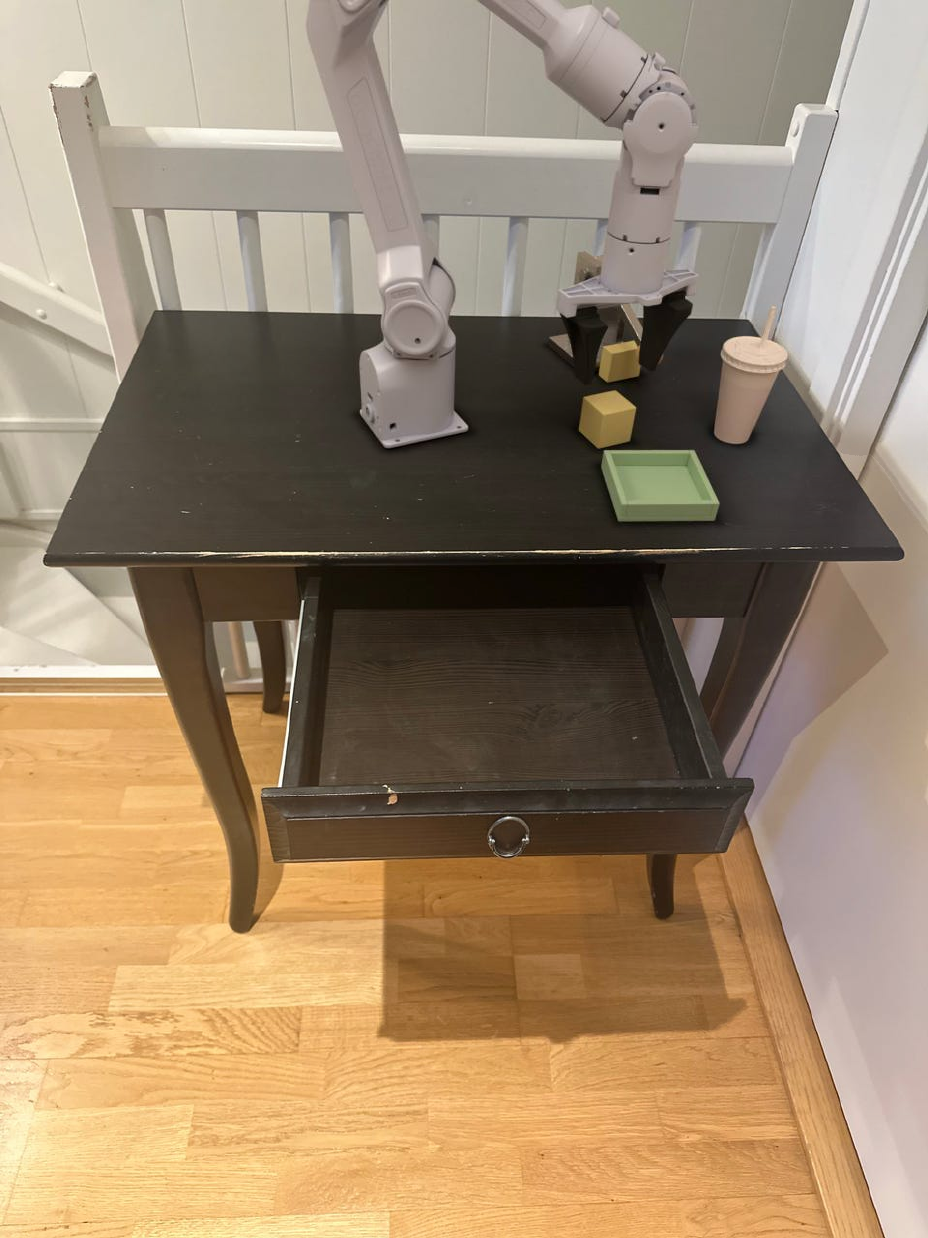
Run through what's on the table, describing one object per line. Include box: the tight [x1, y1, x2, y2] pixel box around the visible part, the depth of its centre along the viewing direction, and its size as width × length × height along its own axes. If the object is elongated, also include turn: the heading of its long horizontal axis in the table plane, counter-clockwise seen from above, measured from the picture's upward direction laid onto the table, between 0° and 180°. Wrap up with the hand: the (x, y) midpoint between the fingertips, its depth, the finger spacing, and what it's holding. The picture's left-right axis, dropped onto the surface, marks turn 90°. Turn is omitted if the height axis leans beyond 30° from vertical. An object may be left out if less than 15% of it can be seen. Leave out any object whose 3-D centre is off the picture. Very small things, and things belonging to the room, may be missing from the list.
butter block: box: [598, 340, 641, 384], centre depth 98 cm, size 2×4×4 cm, turn 115°
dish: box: [600, 449, 721, 522], centre depth 81 cm, size 9×9×2 cm
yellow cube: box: [578, 390, 637, 450], centre depth 88 cm, size 4×4×4 cm
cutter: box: [547, 251, 625, 372], centre depth 99 cm, size 8×8×12 cm
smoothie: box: [713, 305, 789, 445], centre depth 85 cm, size 6×6×14 cm
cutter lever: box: [593, 254, 664, 369], centre depth 95 cm, size 15×3×3 cm, turn 25°
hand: (615, 373), depth 84 cm, fingers open, 7 cm apart
